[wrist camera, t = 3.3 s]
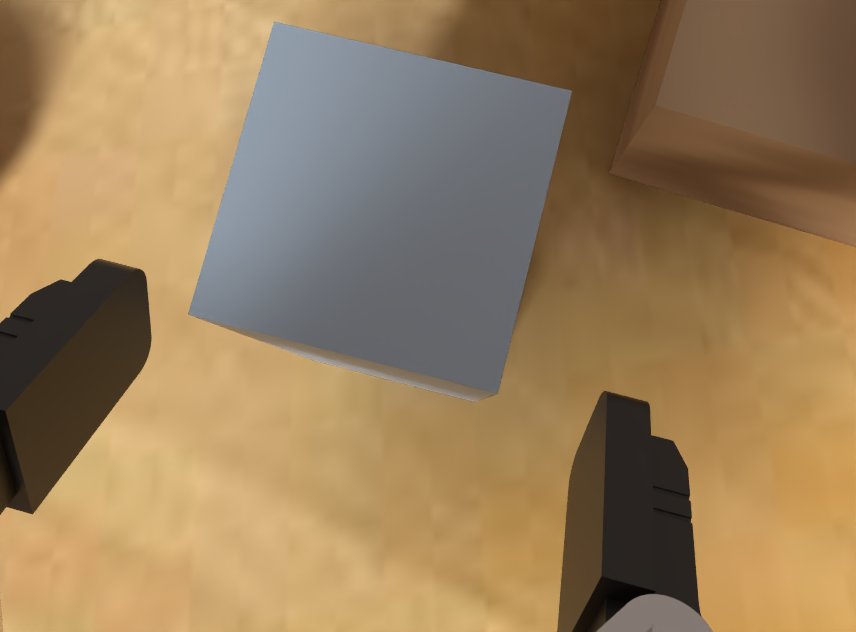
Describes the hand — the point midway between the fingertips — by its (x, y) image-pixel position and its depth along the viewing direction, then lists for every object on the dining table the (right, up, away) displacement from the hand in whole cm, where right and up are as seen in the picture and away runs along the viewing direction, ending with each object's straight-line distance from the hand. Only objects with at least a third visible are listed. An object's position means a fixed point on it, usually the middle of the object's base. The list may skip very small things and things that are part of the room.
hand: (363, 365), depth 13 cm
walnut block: (+11, +7, +8) cm, 15 cm away
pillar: (+1, +1, +8) cm, 8 cm away
